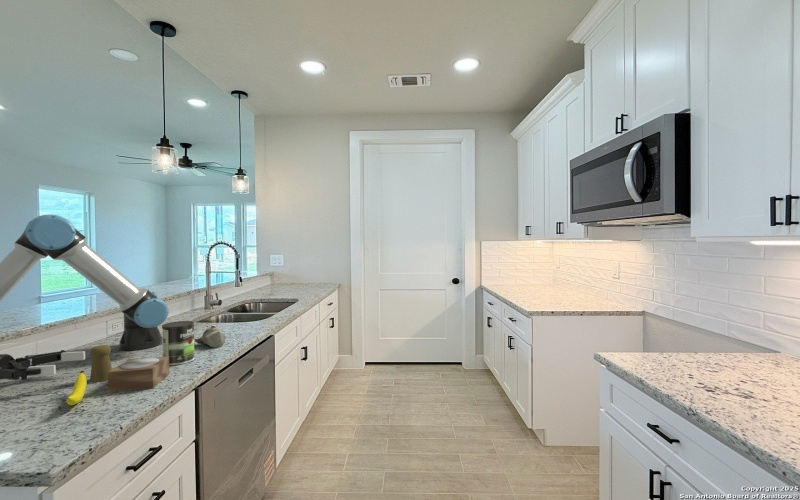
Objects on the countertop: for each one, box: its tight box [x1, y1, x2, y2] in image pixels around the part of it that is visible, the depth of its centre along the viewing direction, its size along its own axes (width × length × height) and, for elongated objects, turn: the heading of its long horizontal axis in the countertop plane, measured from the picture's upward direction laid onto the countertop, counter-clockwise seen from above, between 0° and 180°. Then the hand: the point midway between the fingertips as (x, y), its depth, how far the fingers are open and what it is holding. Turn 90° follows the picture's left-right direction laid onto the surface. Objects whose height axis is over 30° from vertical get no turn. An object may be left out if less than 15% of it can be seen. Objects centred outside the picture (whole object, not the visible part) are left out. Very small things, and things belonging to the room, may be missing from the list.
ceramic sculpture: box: [194, 325, 227, 349], centre depth 155 cm, size 11×9×15 cm
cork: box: [89, 344, 113, 384], centre depth 117 cm, size 6×6×11 cm
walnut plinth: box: [107, 356, 171, 393], centre depth 115 cm, size 12×12×6 cm
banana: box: [65, 370, 88, 406], centre depth 100 cm, size 3×19×6 cm, turn 33°
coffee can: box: [161, 320, 196, 366], centre depth 135 cm, size 10×10×14 cm
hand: (70, 362), depth 115 cm, fingers open, 13 cm apart
